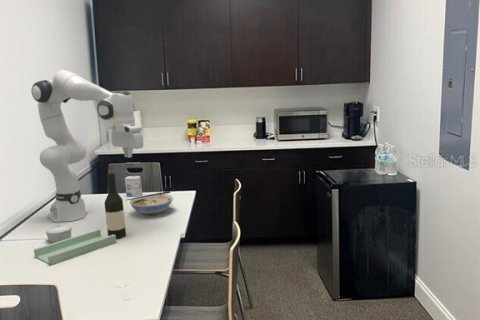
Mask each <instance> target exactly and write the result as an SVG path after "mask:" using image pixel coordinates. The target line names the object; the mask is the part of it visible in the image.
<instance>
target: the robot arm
mask: <svg viewBox="0 0 480 320" xmlns="http://www.w3.org/2000/svg"><path fill="white" fill-rule="evenodd" d="M30 91H31V96H32V98H33V99H34V101H36V102H37V109H38V110H37V111H38V115H39V119H40V123H41V126H42V129H43V132H44V135H45V136H46V137H47V138H48V139H51V140H53V141H54V142H55V144H56V145H52V146H49V147H47V148H44V149H43V150H42V151H41V152H40V154H39V162H40V164H41V165H42V166H43V167H44V168H46V169H48V171H49V172H50V173H51V174H52V176H53V177H54V179H53V180H54V182H55V188H56V192H55V200H54V202H52V204H51V205H50V208H49V211H50V212H49V213H48V214H46V217H47V218H49V219H50V220H51V221H52V222H54V223H62V222H63V223H64V222H73V221H77V220H81V219H84V218H85V217H86V215H88V214H89V211H88V210H86V206H85V200H84V198H82V192H81V189H80V183H79V177H78V175H77V174H76V173H74V172H72V171H71V170H70V168H69V165H73V164H77V163H80V161H82V160H84V159H85V158H86V155H87V149H86V146H85V145H84V144H83V143H81V142H80V141H78V140H77V139H76V138H74V137H73V135H72V133H71V132H70V130H69V128H68V126H67V121H66V120H65V117H64V113H63V111H62V108H61V105H62V103H64V104H66V103H68V102H69V100H72V99H73V100H75V101H80V102H81V101H96V102H98V103H97V107H96V109H97V114H98V116H99V117H100V118H101V119H102V120H105V121H106V120H107V121H109V120H110V121H112V120H114V124H115V125H114V126H113V128H112V132H111V145H112V146H113V147H117V148H122V151H123V154H124V157H125V158H132V157H133V151H134V150H139V149H140V150H141V149H142V148H144V135H143V133H142V131H143V126H141V125H140V124H138V123H137V122H136V119H135V115H134V112H135V103H134V101H133V96H132V94H131V93H130V92H129V91H127V90H116V91H114V92H112V91H110V90H108V89H107V88H104V87H102V86H100V85H97V84H95V83H93V82H91V81H89V80H88V79H85V78H84V77H82V76H80V75H78V74H77V73H74V72H73V71H70V70H65V69H60V70H58V71H57V72H55V74H54V76H53V79H44V80H43V79H42V80H40V81H39V80H38V81H36V82H34V83H33V85H32V86H31V90H30Z"/></svg>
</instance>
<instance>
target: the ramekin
mask: <svg viewBox="0 0 480 320" xmlns="http://www.w3.org/2000/svg"><path fill="white" fill-rule="evenodd" d="M45 234H46V236H47V240H48V242H50V243H51V244H52V243H55V242H59V241H62V240H65V239H68V238H72V226H71V225H69V224H61V225H60V224H59V225H54V226H51V227H48V228H47V229H46V230H45Z"/></svg>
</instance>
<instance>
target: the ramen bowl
mask: <svg viewBox="0 0 480 320" xmlns="http://www.w3.org/2000/svg"><path fill="white" fill-rule="evenodd" d="M170 194H171V191H169V190H167V191H162V192H161V191H160V192H157V193H150V194H142V195H141V196H138V197H131V198H129V199H127V198H126V201H129V204H130V206H131V207H132V208H133V209H134V210H135V211H136V212H138V213H141V214H145V215H147V216H148V215H151V216H153V215H157V214H160V213H161V212H163V211H166V209H168V207H170V205H171V203H172V202H173V200H174V196H173V195H170Z"/></svg>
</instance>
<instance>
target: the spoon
mask: <svg viewBox="0 0 480 320" xmlns="http://www.w3.org/2000/svg"><path fill="white" fill-rule="evenodd" d="M129 283H130V280H129V279H127V278H124V277H123V278H121V277H120V278H117V279H115V280H114V281H113V286H114V287H116V288H120V291H121V294H122V300H124V301H128V300H131V296H130V294H129V292H128V290H127V288H126V286H128V285H129Z"/></svg>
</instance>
